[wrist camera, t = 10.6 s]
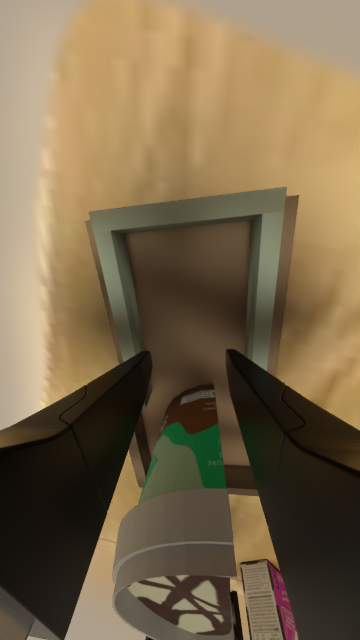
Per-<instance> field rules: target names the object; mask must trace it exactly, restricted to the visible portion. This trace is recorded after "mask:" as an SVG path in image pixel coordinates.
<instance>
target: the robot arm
mask: <svg viewBox="0 0 360 640" xmlns="http://www.w3.org/2000/svg"><path fill="white" fill-rule="evenodd" d="M152 368H153V364H152V358H151V353H150V351H141V352H140V353H138V354H136V355H135V356H133V357H131V358H130V359H128V360H126V361H125V362H123V363H121V364H120V365H118V366H116V367H115V368H113V369H111V370H110V371H108V372H106V373H105V374H103V375H101V376H100V377H98V378H97V379H95V380H93V381H92V382H90V383H88V384H87V385H85V386H83V387H82V388H80V389H78V390H77V391H75V392H73V393H71V394H70V395H68V396H66V397H64V398H63V399H61V400H59V401H57V402H55V403H53V404H52V405H50V406H48V407H46V408H44V409H42V410H40V411H38V412H37V413H35V414H33V415H31V416H29V417H28V418H25V419H24V420H22V421H20V422H18V423H16V424H14V425H12V426H10V427H8V428H5V429H3V430H0V640H26V639H27V637H28V636H32V637H37V638H42V639H47V640H64V639H65V636H66V633H67V631H68V628H69V624H70V622H71V619H72V616H73V613H74V610H75V607H76V604H77V601H78V598H79V595H80V592H81V589H82V586H83V583H84V580H85V577H86V574H87V571H88V568H89V566H90V563H91V559H92V556H93V554H94V551H95V548H96V545H97V542H98V539H99V536H100V533H101V530H102V527H103V524H104V521H105V518H106V515H107V511H108V509H109V506H110V503H111V500H112V497H113V494H114V491H115V488H116V485H117V482H118V479H119V476H120V473H121V470H122V467H123V464H124V461H125V458H126V455H127V452H128V449H129V447H130V444H131V441H132V438H133V435H134V432H135V429H136V426H137V423H138V420H139V417H140V414H141V411H142V408H143V405H144V402H145V399H146V396H147V392H148V387H149V383H150V378H151V373H152ZM226 371H227V378H228V384H229V391H230V396H231V400H232V403H233V407H234V410H235V414H236V417H237V421H238V424H239V428H240V431H241V435H242V438H243V442H244V445H245V449H246V452H247V456H248V459H249V463H250V466H251V470H252V473H253V477H254V480H255V484H256V487H257V491H258V494H259V498H260V501H261V505H262V508H263V512H264V515H265V519H266V522H267V525H268V529H269V533H270V536H271V540H272V543H273V547H274V550H275V554H276V557H277V561H278V564H279V568H280V571H281V575H282V578H283V582H284V585H285V589H286V592H287V596H288V599H289V603H290V606H291V610H292V613H293V617H294V620H295V624H296V627H297V631H298V634H299V638H300V640H360V430H358V429H356V428H354V427H353V426H351V425H349V424H348V423H346V422H344V421H343V420H341V419H339V418H338V417H336V416H334V415H333V414H331V413H329V412H328V411H326V410H324V409H323V408H321V407H319V406H318V405H316V404H314V403H313V402H311V401H310V400H308V399H306V398H305V397H303V396H302V395H300V394H299V393H297V392H296V391H294V390H293V389H292V388H290V387H289V386H286V384H284V383H283V382H281V381H280V380H279V379H277V378H276V377H274V376H273V375H271V374H270V373H268V372H267V371H266V370H264V369H263V368H261V367H260V366H258V365H257V364H256V363H254V362H253V361H251V360H250V359H248V358H247V357H246V356H244V355H243V354H241V353H240V352H238V351H237V350H235V349H226ZM230 596H231V608H232V619H233V630H234V640H243V634H242V627H241V618H240V611H239V604H238V597H237V591H232V592H230ZM146 640H154V639H152V638H150V637H148V636H146Z"/></svg>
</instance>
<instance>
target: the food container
mask: <svg viewBox="0 0 360 640" xmlns="http://www.w3.org/2000/svg"><path fill="white" fill-rule="evenodd" d="M230 578H237V572H236V563H235V555H234V546H233V534H232V525H231V516H230V507H229V498H228V489H227V488H226V479H225V471H224V463H223V454H222V446H221V438H220V429H219V421H218V413H217V404H216V396H215V388H214V384H209V385H200V386H197V387H194V388H191V389H188V390H185V391H184V392H182V393H181V394H179V395H178V396H176V397H175V398H174V399H173V400H172V401H171V403H170V404H169V406H168V407H167V409H166V412H165V416H164V419H163V423H162V426H161V429H160V433H159V436H158V439H157V443H156V446H155V450H154V453H153V456H152V460H151V463H150V466H149V470H148V473H147V477H146V480H145V483H144V487H143V490H142V493H141V497H140V500H139V504H138V505H137V506H135V507H134V508H133V509H132V510H130V511H129V512H128V513H127V514H126V515H125V517H124V518H123V520H122V521H121V524H120V527H119V531H118V538H117V545H116V552H115V560H114V566H113V582H114V584H115V588H114V594H113V598H112V605H113V608H114V610H115V612H116V614H117V615H118V616H119V617H120V618H121V619H122V620H123V621H124V622H125V623H127V624H128V625H129V626H130V627H132V628H134V629H135V630H137V631H138V632H140V633H142V634H144V635H146V636H148V637H150V638H152V639H154V640H234V630H233V619H232V608H231V596H230Z"/></svg>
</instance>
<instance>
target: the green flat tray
mask: <svg viewBox="0 0 360 640" xmlns="http://www.w3.org/2000/svg"><path fill="white" fill-rule="evenodd" d="M286 190H287V187H282V188H274V189H266V190H258V191H250V192H242V193H235V194H227V195H219V196H211V197H203V198H195V199H187V200H179V201H171V202H163V203H155V204H147V205H139V206H131V207H123V208H116V209H108V210H100V211H92V212H89V215H90V219H91V220H87V221H85V222H86V226H87V231H88V235H89V239H90V243H91V247H92V251H93V255H94V260H95V264H96V268H97V272H98V276H99V280H100V284H101V288H102V293H103V297H104V301H105V305H106V309H107V313H108V317H109V321H110V326H111V330H112V334H113V338H114V342H115V346H116V350H117V355H118V359H119V363H120V364H121V363H123V362H125V361H126V360H128V359H130V358H131V357H133V356H135V355H136V354H138V353H140V352H141V351H150V353H151V358H152V364H153V368H152V373H151V378H150V383H149V387H148V392H147V396H146V399H145V402H144V405H143V408H142V411H141V414H140V417H139V420H138V423H137V426H136V429H135V432H134V435H133V438H132V441H131V444H130V447H129V453H130V457H131V460H132V464H133V467H134V471H135V475H136V478H137V482H138V485H139V487H144V483H145V480H146V477H147V473H148V470H149V466H150V463H151V460H152V456H153V453H154V450H155V446H156V443H157V439H158V436H159V433H160V429H161V426H162V423H163V419H164V416H165V412H166V409H167V407H168V406H169V404H170V403H171V401H172V400H173V399H174V398H175V397H176V396H178V395H179V394H181V393H182V392H184V391H185V390H188V389H191V388H194V387H197V386H200V385H209V384H214V388H215V396H216V404H217V413H218V421H219V429H220V438H221V446H222V454H223V463H224V471H225V479H226V488H227V489H228V494H236V495H249V496H259V494H258V491H257V487H256V484H255V480H254V477H253V473H252V470H251V466H250V463H249V459H248V456H247V452H246V449H245V445H244V442H243V438H242V435H241V431H240V428H239V424H238V421H237V417H236V414H235V410H234V407H233V403H232V400H231V396H230V391H229V384H228V378H227V371H226V349H235V350H237V351H238V352H240V353H241V354H243V355H244V356H246V357H247V358H248V359H250V360H251V361H253V362H254V363H256V364H257V365H258V366H260V367H261V368H263V369H264V370H266V371H267V372H268V373H270V374H271V375H273V376H274V377H275V374H276V367H277V359H278V352H279V344H280V336H281V329H282V321H283V313H284V306H285V298H286V290H287V283H288V275H289V267H290V260H291V252H292V245H293V237H294V229H295V222H296V214H297V206H298V199H299V195H296V196H288V197H286Z"/></svg>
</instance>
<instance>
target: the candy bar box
mask: <svg viewBox="0 0 360 640" xmlns="http://www.w3.org/2000/svg"><path fill="white" fill-rule="evenodd" d="M240 567H241V574H242V582H243V589H244V597H245V604H246V612H247V619H248V626H249V634H250V640H300V638H299V634H298V631H297V627H296V624H295V620H294V617H293V613H292V610H291V606H290V603H289V599H288V596H287V592H286V589H285V585H284V582H283V578H282V575H281V573H280V572H279V571H278V570H277V569H276V568H275V567H274V566H273V565H272V564H271V563H269V562H268V561H267V560H257V561H252V562H248V563H243V564H240Z"/></svg>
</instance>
